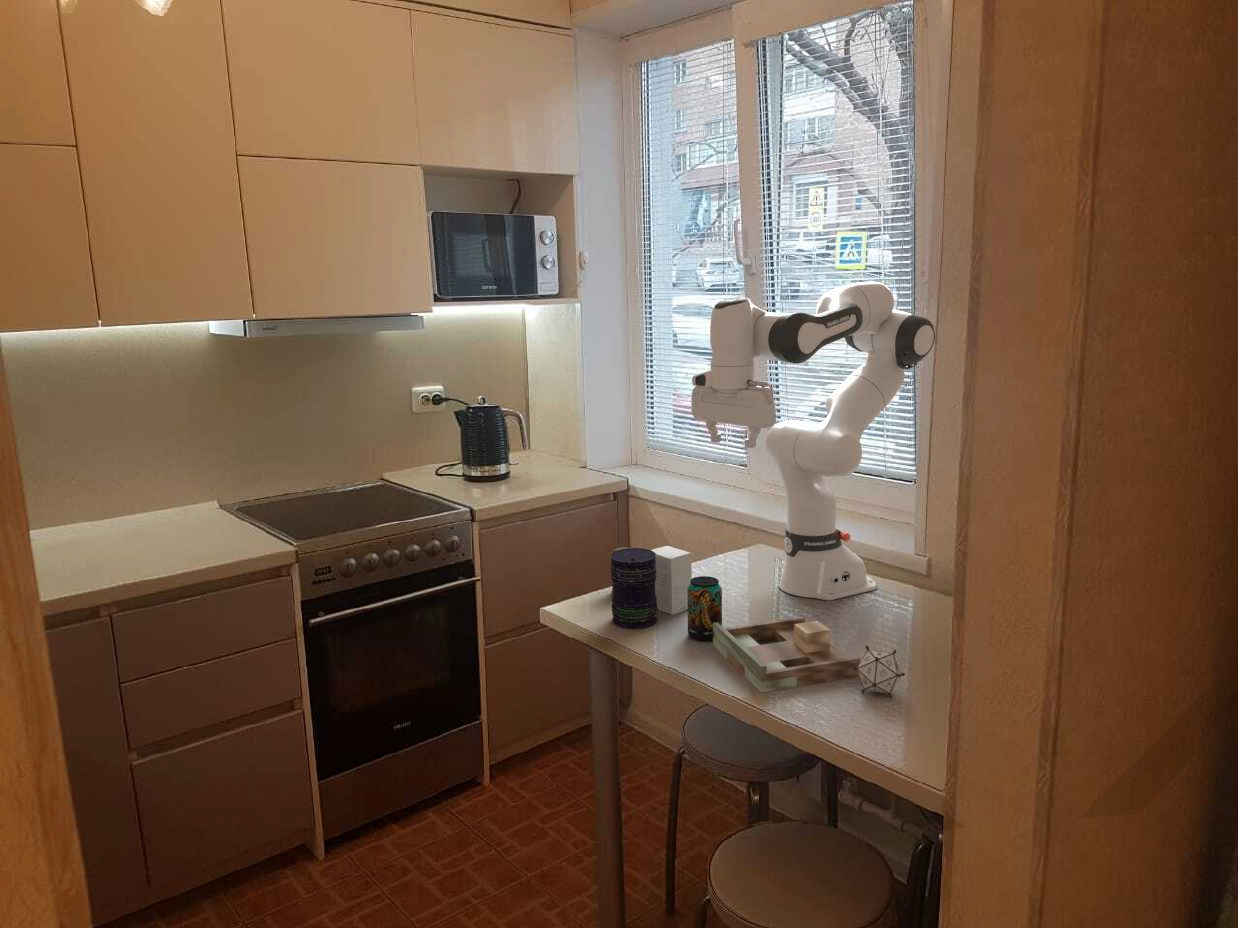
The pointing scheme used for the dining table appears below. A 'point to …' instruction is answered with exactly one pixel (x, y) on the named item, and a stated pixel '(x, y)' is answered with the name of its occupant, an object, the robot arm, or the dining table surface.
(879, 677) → the game die
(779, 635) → the box
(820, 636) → the beech block
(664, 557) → the small box
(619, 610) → the storage jar
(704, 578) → the beverage can
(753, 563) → the dining table surface
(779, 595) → the dining table surface
